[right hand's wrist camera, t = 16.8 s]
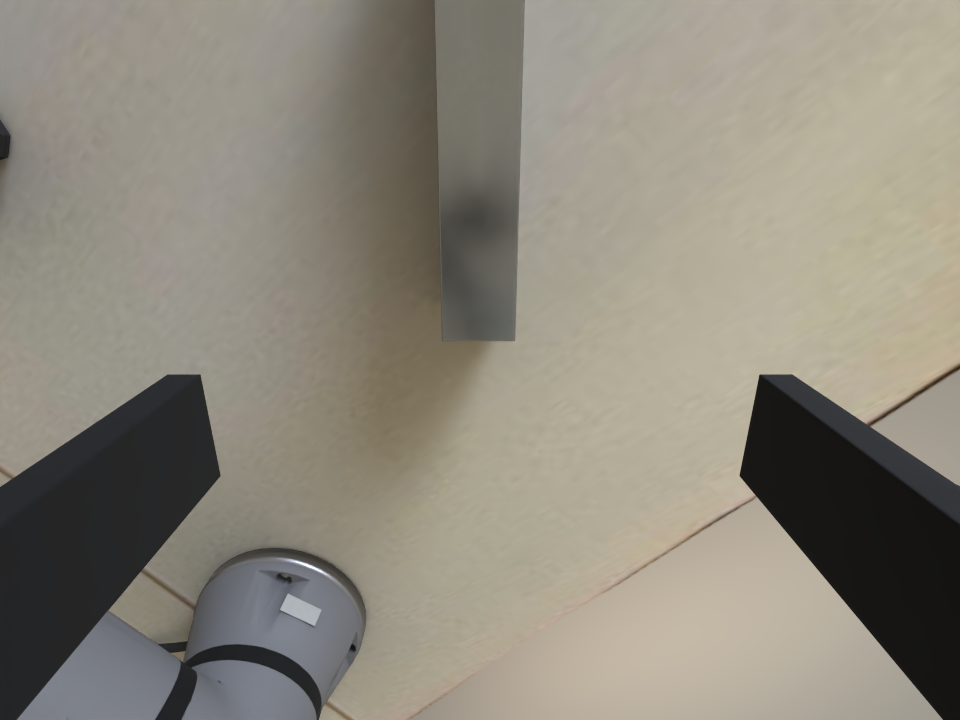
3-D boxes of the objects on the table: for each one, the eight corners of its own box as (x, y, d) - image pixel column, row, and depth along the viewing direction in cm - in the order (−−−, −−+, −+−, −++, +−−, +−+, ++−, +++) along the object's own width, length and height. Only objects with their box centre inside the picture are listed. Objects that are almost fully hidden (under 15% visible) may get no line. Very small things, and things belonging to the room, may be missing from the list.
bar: (508, 308, 40) (515, 341, 32) (449, 308, 40) (442, 341, 32) (519, -159, 30) (531, -264, 23) (441, -159, 30) (428, -264, 23)
